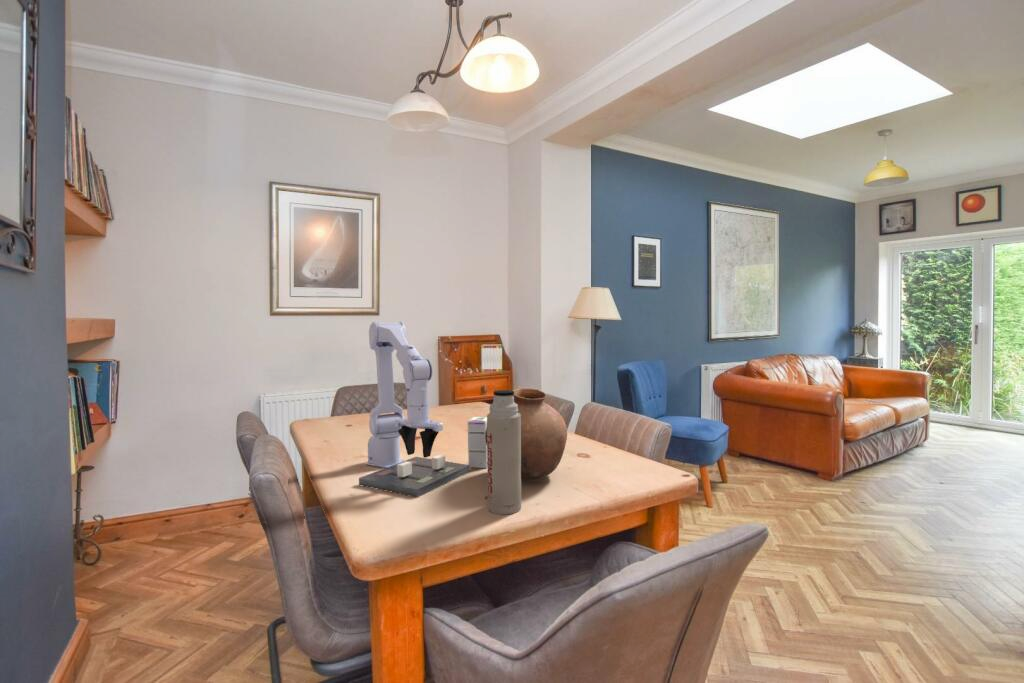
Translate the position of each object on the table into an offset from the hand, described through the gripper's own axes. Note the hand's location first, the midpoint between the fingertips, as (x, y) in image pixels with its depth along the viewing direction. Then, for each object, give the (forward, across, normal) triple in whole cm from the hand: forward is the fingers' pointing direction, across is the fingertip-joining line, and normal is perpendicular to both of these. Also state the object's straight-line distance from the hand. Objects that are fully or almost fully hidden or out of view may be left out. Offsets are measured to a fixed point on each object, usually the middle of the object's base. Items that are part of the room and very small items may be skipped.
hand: (418, 455), depth 137 cm
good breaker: (+6, -1, +10) cm, 12 cm away
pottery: (+9, +22, +20) cm, 31 cm away
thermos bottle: (+9, +28, -3) cm, 29 cm away
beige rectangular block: (+6, -5, 0) cm, 8 cm away
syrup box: (+9, +4, +24) cm, 26 cm away
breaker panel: (+8, -5, +5) cm, 11 cm away
